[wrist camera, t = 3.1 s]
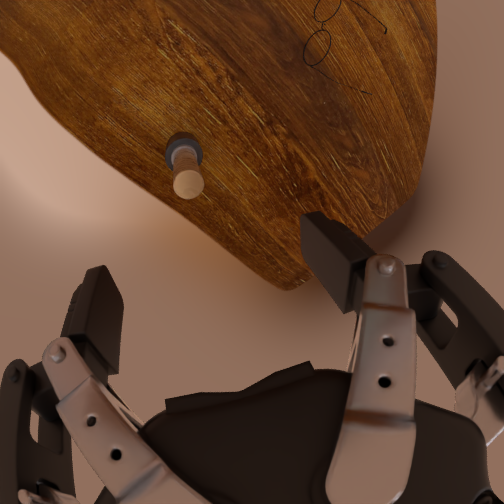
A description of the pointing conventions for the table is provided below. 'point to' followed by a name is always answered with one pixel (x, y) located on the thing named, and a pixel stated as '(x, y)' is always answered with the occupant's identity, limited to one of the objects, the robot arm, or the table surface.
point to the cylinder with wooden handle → (185, 164)
